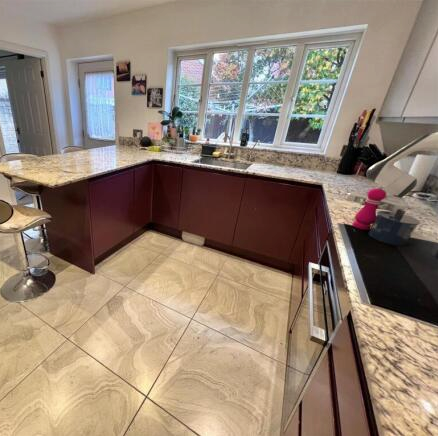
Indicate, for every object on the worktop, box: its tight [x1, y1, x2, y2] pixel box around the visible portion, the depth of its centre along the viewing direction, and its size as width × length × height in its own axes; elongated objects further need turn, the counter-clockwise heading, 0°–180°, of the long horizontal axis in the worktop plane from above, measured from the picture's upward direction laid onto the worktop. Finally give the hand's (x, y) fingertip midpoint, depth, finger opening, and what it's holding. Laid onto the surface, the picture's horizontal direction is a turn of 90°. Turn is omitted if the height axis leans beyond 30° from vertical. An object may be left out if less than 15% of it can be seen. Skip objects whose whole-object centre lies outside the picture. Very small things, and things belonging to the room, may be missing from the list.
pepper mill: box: [352, 184, 386, 231], centre depth 103 cm, size 7×7×20 cm
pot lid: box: [376, 209, 421, 226], centre depth 93 cm, size 13×13×4 cm
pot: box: [368, 214, 418, 247], centre depth 96 cm, size 12×12×10 cm
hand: (371, 205), depth 102 cm, fingers closed on pepper mill, 5 cm apart
